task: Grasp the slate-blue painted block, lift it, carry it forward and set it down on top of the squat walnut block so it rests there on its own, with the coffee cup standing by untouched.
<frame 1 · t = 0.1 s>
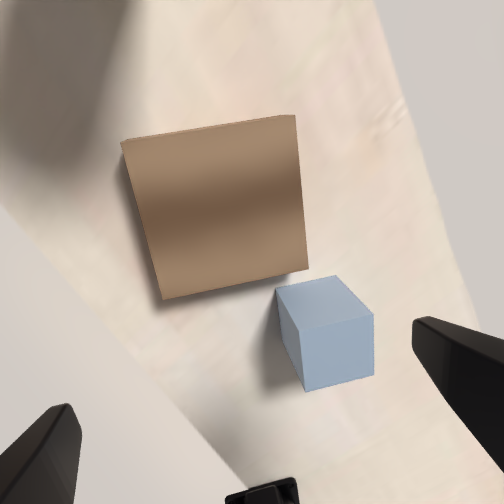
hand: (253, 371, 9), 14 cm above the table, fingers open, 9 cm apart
slate block: (308, 308, 26), on the table
walnut block: (219, 201, 23), on the table
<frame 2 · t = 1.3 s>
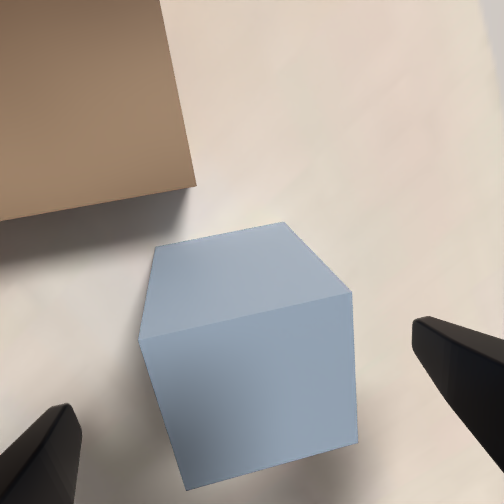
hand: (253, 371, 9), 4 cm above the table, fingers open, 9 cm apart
slate block: (231, 290, 13), on the table
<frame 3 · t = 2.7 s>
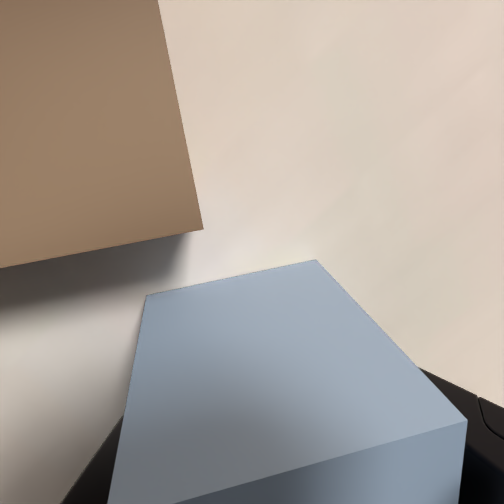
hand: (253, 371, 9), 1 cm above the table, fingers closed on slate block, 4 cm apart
slate block: (246, 347, 10), on the table, touching gripper
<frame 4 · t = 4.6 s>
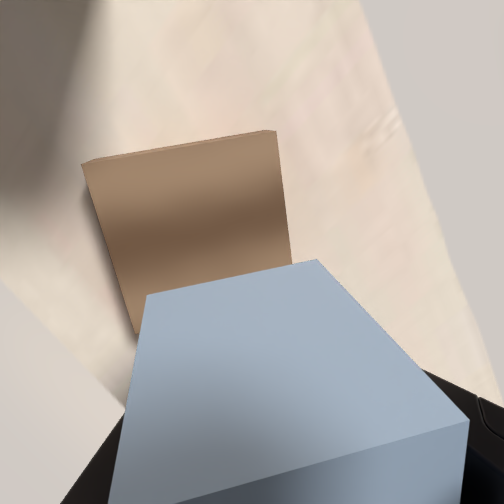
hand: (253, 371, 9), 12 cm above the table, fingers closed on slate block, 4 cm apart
slate block: (246, 347, 10), point 11 cm above the table, touching gripper
walnut block: (198, 223, 21), on the table
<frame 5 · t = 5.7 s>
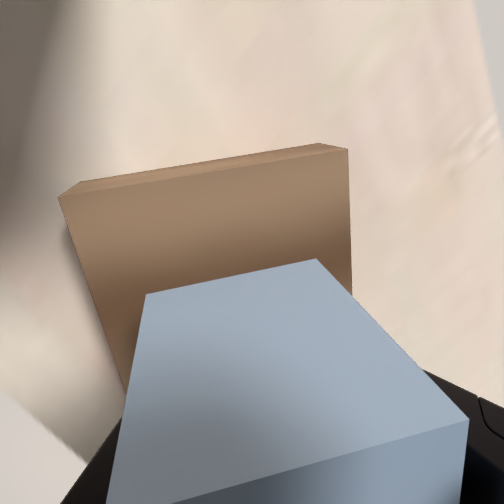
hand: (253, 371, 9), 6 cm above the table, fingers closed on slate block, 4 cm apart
slate block: (246, 346, 10), point 5 cm above the table, touching gripper
walnut block: (223, 265, 15), on the table
when the fingers open (5 cm above the table, at t = 6.7 s): slate block drops 2 cm, resting on walnut block.
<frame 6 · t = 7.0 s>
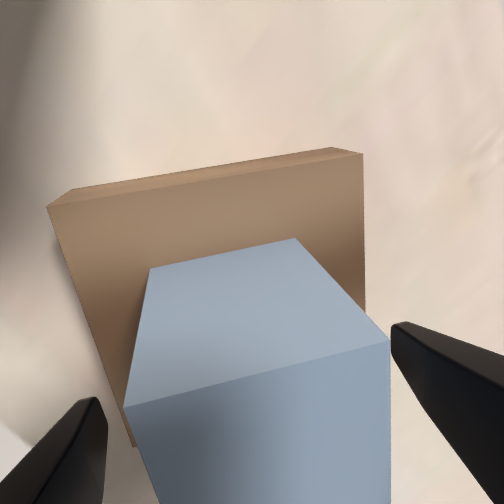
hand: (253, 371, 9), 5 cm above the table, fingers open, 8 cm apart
slate block: (236, 315, 12), point 2 cm above the table, touching walnut block
walnut block: (226, 277, 15), on the table, touching slate block
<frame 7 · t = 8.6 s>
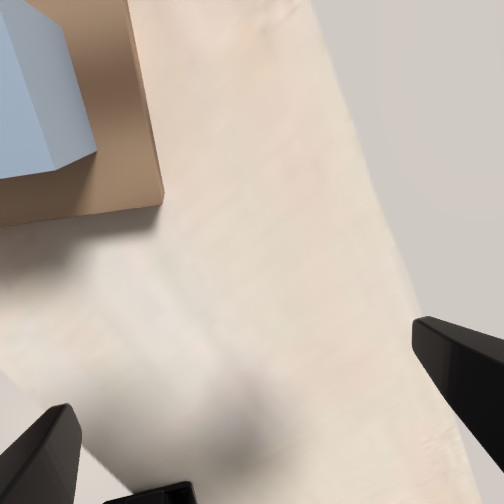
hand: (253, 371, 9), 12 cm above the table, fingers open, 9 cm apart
slate block: (20, 100, 14), point 2 cm above the table, touching walnut block
walnut block: (49, 109, 17), on the table, touching slate block
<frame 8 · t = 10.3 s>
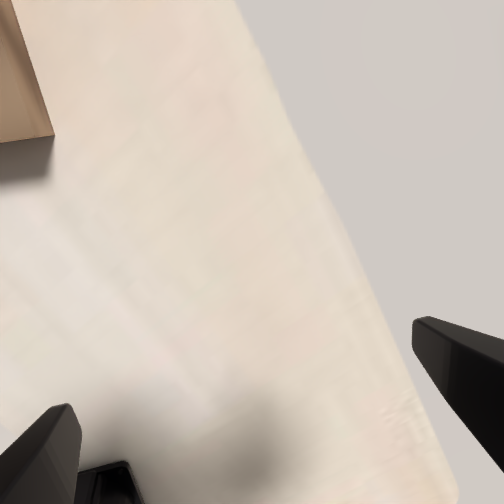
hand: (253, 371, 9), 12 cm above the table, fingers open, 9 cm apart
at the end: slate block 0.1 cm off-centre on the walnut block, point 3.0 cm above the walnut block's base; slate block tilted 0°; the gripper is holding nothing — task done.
